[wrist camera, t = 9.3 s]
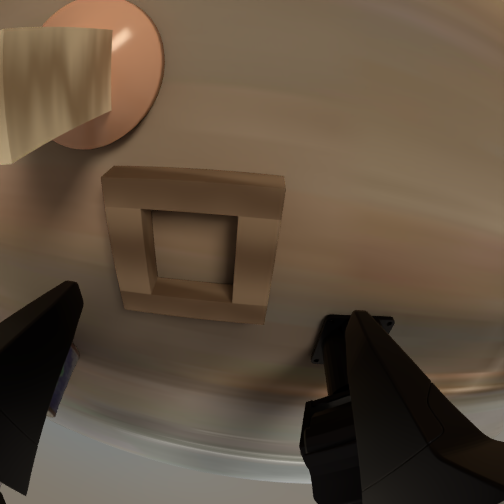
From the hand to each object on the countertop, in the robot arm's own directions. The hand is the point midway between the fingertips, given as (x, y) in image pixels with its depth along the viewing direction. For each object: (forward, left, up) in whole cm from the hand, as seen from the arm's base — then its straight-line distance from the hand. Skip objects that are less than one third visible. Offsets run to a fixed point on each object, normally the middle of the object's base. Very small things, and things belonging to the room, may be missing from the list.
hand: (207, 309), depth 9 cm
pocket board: (-5, +3, -12) cm, 13 cm away
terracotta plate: (+7, +10, -12) cm, 16 cm away
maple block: (+6, +10, -11) cm, 16 cm away
